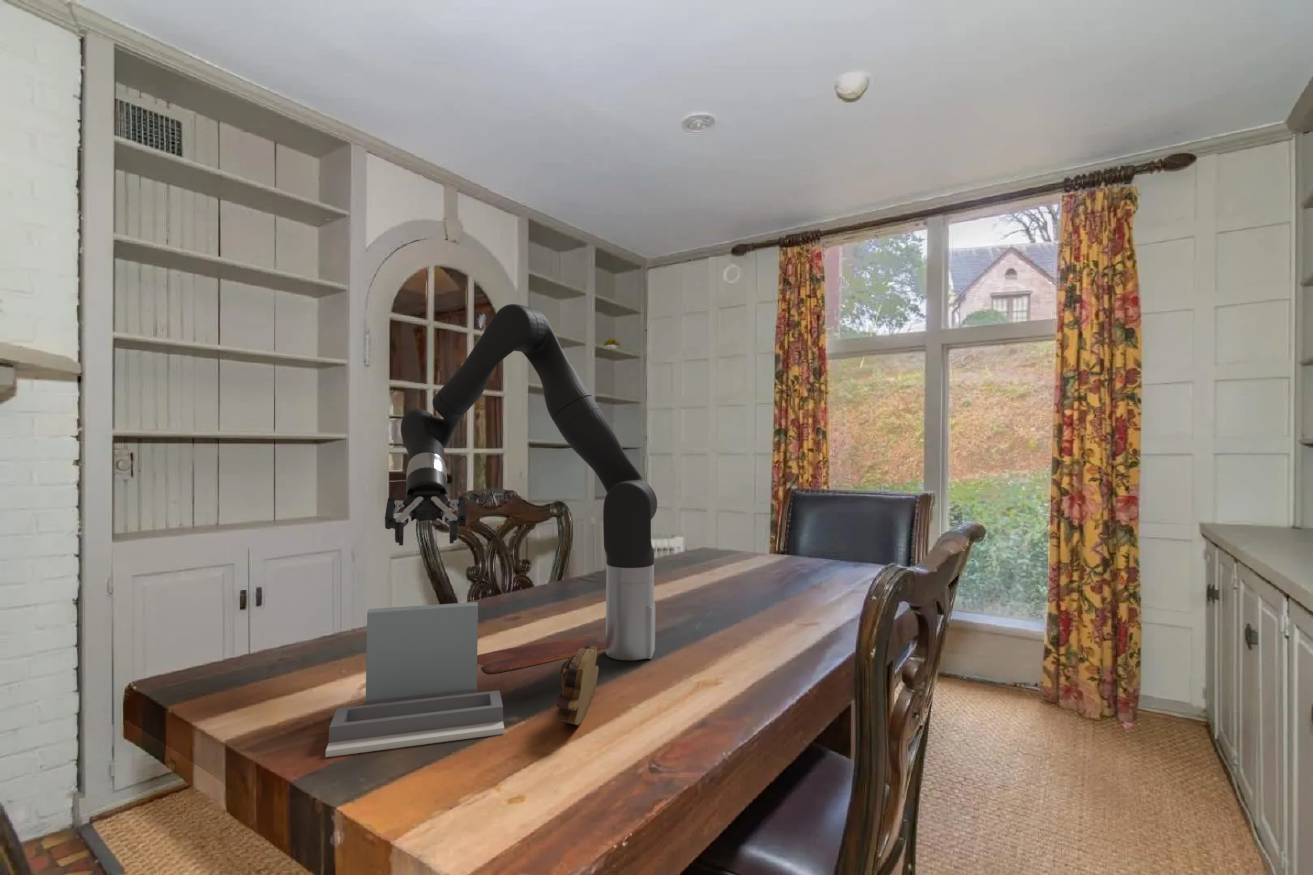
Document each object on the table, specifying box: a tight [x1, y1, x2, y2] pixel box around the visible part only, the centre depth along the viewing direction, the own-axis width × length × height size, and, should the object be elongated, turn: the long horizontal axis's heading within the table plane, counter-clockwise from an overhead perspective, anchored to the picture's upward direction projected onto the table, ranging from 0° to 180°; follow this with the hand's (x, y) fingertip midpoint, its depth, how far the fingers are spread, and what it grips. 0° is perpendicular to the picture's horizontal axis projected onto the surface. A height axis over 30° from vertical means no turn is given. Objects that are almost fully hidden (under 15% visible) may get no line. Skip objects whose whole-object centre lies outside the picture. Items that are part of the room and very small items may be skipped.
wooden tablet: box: [477, 637, 606, 674], centre depth 121 cm, size 27×10×2 cm, turn 128°
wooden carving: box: [555, 646, 600, 726], centre depth 91 cm, size 16×5×10 cm, turn 178°
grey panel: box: [364, 601, 479, 705], centre depth 100 cm, size 16×8×14 cm, turn 109°
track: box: [325, 689, 505, 758], centre depth 88 cm, size 22×11×3 cm, turn 109°
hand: (426, 541), depth 112 cm, fingers open, 8 cm apart
